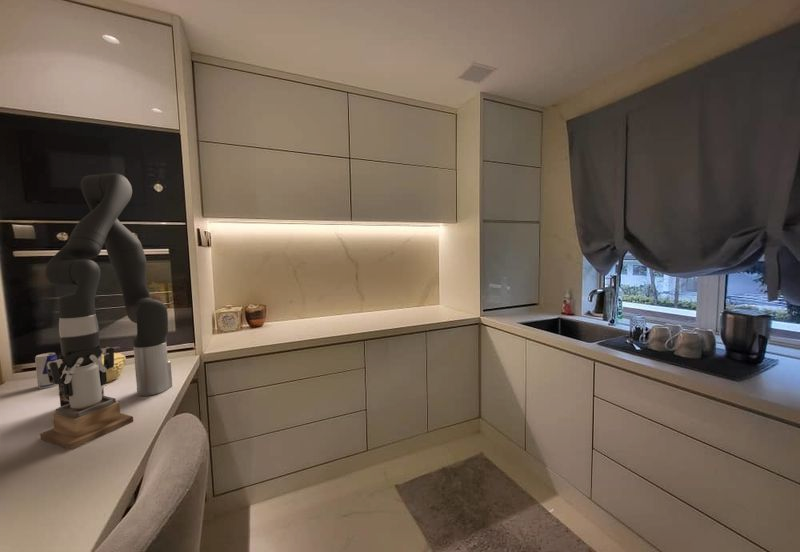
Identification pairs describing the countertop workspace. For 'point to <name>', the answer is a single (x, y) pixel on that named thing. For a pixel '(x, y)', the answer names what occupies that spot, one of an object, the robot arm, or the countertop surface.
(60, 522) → the countertop surface
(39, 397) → the countertop surface
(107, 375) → the sculpture
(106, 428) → the plinth
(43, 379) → the energy drink
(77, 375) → the beverage can
